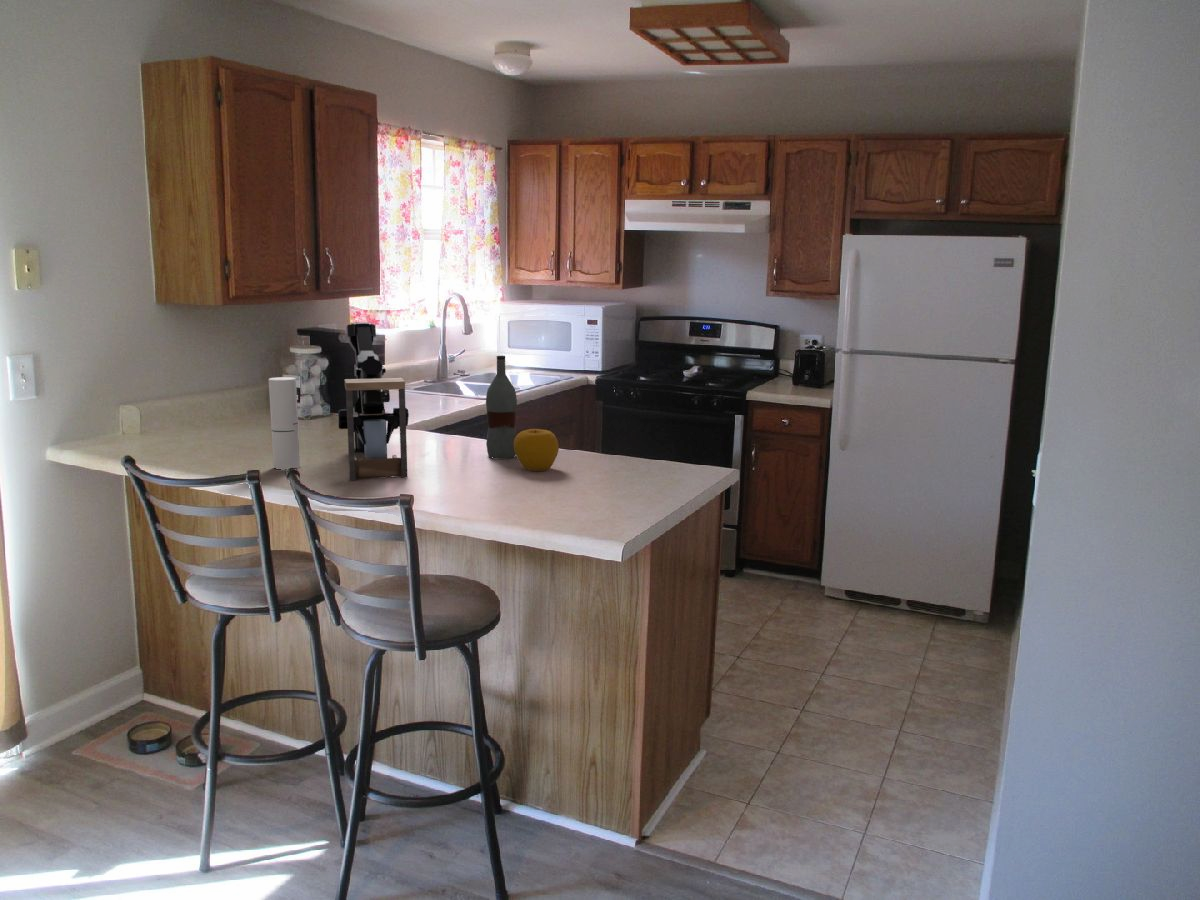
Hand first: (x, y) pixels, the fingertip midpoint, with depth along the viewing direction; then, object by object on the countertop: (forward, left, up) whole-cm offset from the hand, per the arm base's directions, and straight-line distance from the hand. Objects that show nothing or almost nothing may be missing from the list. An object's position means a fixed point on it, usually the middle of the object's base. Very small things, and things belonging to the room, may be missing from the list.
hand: (375, 443), depth 261 cm
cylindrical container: (-28, -2, -9) cm, 29 cm away
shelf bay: (-1, +1, -9) cm, 9 cm away
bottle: (+20, +36, -9) cm, 42 cm away
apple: (+37, +23, -9) cm, 44 cm away
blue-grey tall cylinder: (-1, +1, -7) cm, 7 cm away
